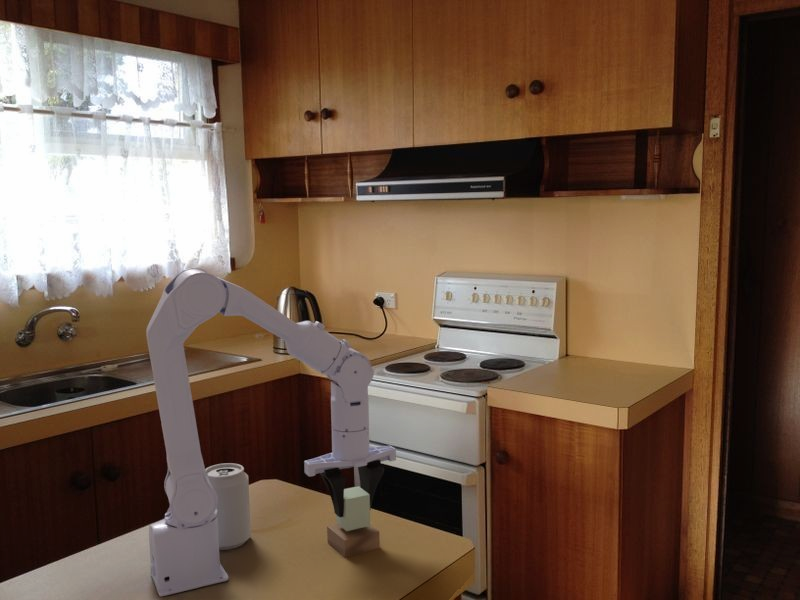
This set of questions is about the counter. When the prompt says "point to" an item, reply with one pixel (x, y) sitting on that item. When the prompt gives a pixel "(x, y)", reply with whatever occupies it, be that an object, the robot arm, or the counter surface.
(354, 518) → the green block
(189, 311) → the robot arm
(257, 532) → the counter surface
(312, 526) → the counter surface
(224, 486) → the can
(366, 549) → the walnut slab
